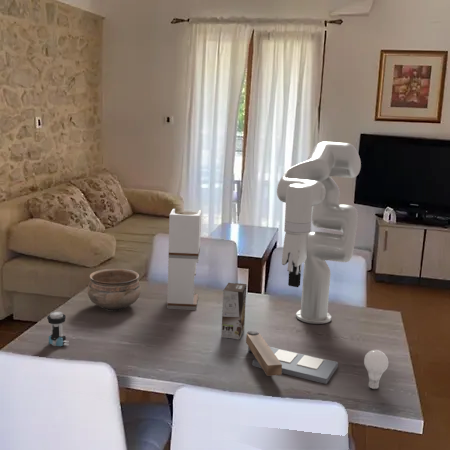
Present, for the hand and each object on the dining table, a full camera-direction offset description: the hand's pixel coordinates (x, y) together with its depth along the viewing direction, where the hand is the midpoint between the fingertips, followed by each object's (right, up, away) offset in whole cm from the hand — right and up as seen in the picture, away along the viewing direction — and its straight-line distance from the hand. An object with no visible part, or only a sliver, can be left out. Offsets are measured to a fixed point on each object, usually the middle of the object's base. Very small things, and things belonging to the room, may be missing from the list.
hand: (294, 285), depth 172 cm
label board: (0, -23, -4) cm, 23 cm away
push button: (-71, -19, +3) cm, 74 cm away
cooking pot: (-61, -12, +37) cm, 72 cm away
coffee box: (-18, -18, +18) cm, 31 cm away
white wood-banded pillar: (-36, -12, +44) cm, 58 cm away
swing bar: (-10, -20, -6) cm, 23 cm away
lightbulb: (+20, -26, -16) cm, 36 cm away
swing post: (-12, -21, +5) cm, 25 cm away
